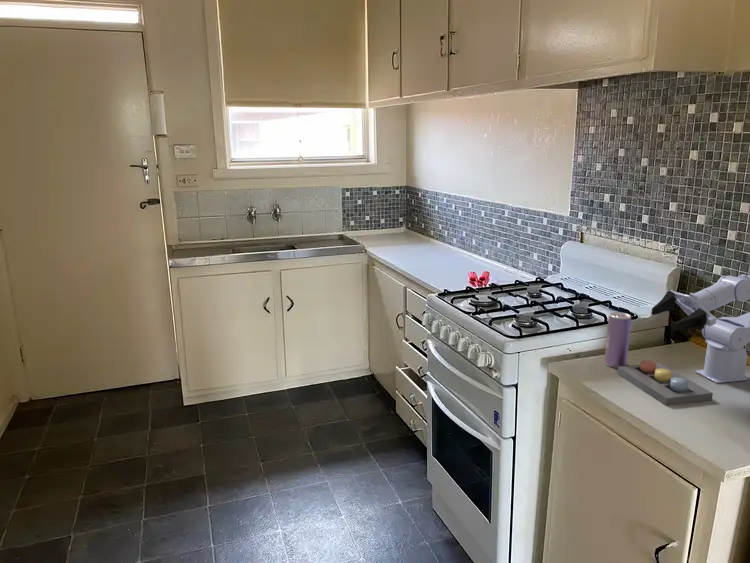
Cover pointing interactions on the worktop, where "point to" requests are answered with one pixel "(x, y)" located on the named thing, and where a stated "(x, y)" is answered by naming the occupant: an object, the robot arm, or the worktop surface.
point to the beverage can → (617, 339)
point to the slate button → (679, 384)
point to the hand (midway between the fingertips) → (663, 319)
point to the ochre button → (663, 375)
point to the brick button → (648, 366)
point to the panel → (664, 386)
